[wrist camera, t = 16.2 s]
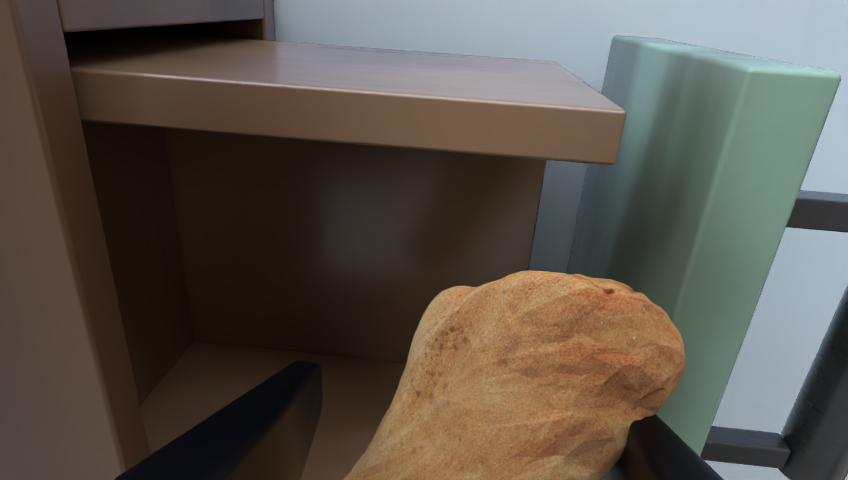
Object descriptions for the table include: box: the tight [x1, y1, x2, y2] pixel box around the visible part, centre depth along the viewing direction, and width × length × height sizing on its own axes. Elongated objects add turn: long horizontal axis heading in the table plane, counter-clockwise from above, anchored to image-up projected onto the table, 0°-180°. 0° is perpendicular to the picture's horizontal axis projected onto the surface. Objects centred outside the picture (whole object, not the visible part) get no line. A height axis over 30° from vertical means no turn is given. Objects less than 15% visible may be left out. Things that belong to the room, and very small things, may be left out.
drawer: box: [64, 31, 848, 480], centre depth 13 cm, size 18×11×7 cm, turn 87°
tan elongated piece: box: [343, 270, 686, 480], centre depth 9 cm, size 8×2×5 cm
